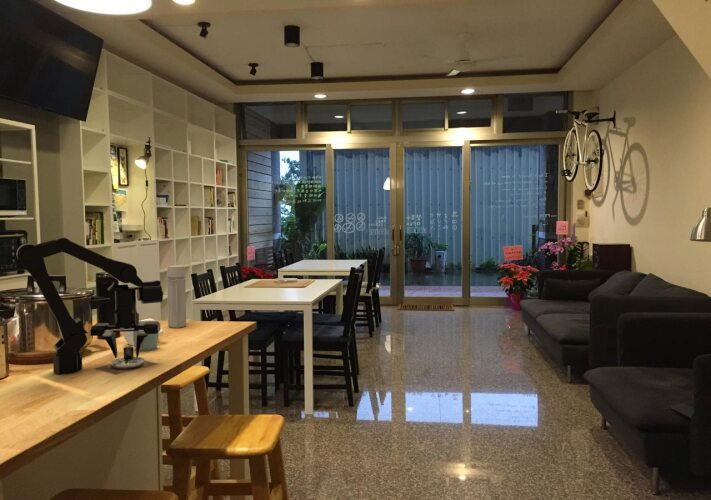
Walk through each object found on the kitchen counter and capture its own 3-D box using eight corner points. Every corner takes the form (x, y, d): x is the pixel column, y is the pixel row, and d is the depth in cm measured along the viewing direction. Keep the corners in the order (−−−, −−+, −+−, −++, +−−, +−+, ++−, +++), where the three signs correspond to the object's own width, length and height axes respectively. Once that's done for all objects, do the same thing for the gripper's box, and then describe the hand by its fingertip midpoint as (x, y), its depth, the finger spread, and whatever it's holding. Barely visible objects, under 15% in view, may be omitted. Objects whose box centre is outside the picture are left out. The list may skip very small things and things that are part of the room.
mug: (123, 345, 198) (123, 322, 197) (140, 339, 207) (140, 317, 207) (153, 347, 195) (153, 324, 194) (169, 341, 205) (169, 319, 204)
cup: (150, 355, 182) (149, 325, 182) (128, 354, 184) (128, 324, 183) (163, 350, 190) (162, 320, 190) (142, 349, 192) (141, 320, 191)
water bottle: (167, 325, 233) (166, 265, 232) (186, 324, 236) (186, 265, 234) (166, 329, 225) (165, 267, 223) (187, 328, 227) (186, 267, 226)
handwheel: (142, 367, 161) (142, 352, 161) (108, 369, 159) (108, 354, 159) (145, 359, 170) (144, 345, 170) (113, 361, 168) (112, 347, 167)
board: (116, 378, 156) (115, 374, 156) (93, 372, 162) (93, 368, 162) (158, 367, 168) (158, 363, 168) (136, 362, 174) (136, 358, 174)
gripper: (162, 300, 176) (163, 349, 177) (99, 302, 173) (100, 352, 173) (157, 305, 165) (158, 358, 166) (89, 307, 162) (90, 361, 163)
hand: (126, 357), depth 167 cm, fingers open, 6 cm apart
